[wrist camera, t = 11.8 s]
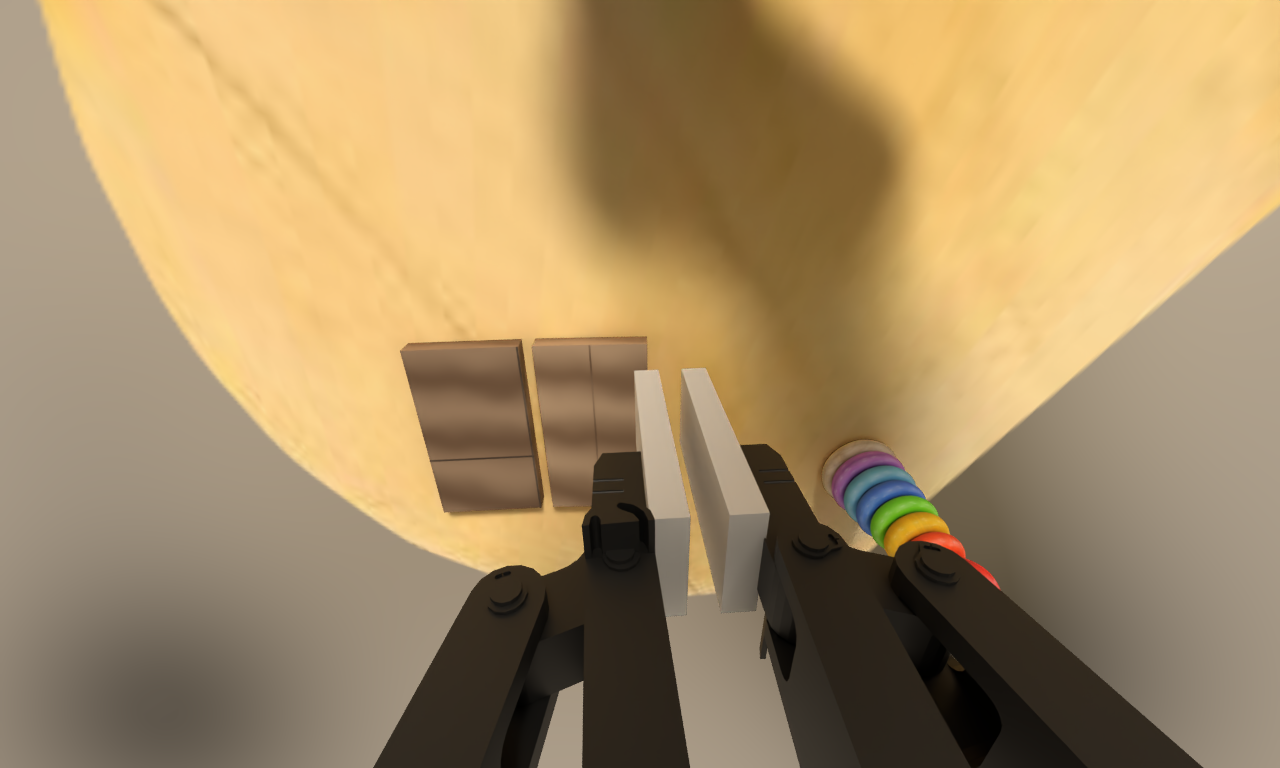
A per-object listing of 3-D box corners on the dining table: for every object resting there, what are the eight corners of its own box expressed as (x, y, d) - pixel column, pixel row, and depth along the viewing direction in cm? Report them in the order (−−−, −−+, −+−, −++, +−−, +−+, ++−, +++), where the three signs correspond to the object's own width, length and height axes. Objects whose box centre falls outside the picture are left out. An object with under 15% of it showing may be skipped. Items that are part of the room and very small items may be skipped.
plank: (535, 338, 41) (531, 346, 40) (646, 336, 41) (646, 344, 40) (555, 495, 49) (553, 507, 48) (648, 493, 49) (649, 505, 48)
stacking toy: (857, 504, 52) (973, 668, 36) (804, 479, 50) (900, 640, 34) (906, 454, 50) (1057, 606, 33) (851, 424, 47) (982, 571, 31)
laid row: (408, 343, 41) (399, 351, 39) (521, 339, 41) (517, 346, 40) (449, 500, 49) (444, 512, 47) (543, 495, 49) (541, 507, 48)
